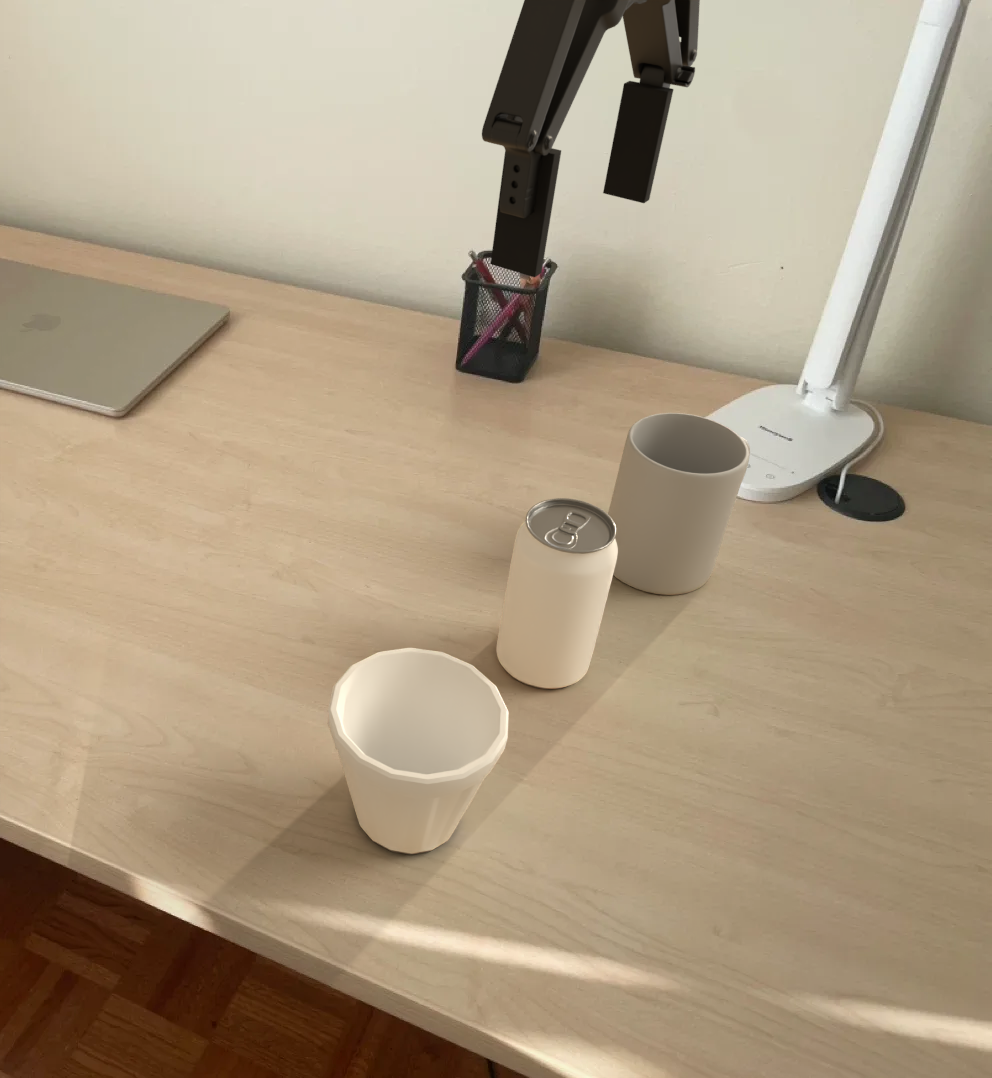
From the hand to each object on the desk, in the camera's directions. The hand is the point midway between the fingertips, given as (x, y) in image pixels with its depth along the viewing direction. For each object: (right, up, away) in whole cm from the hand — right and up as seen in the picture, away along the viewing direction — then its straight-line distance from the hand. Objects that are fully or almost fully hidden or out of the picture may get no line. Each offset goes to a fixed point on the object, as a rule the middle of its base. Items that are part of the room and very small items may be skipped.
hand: (574, 230), depth 61 cm
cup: (-9, -35, +3) cm, 36 cm away
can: (+1, -27, +13) cm, 30 cm away
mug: (+14, -19, +22) cm, 32 cm away
